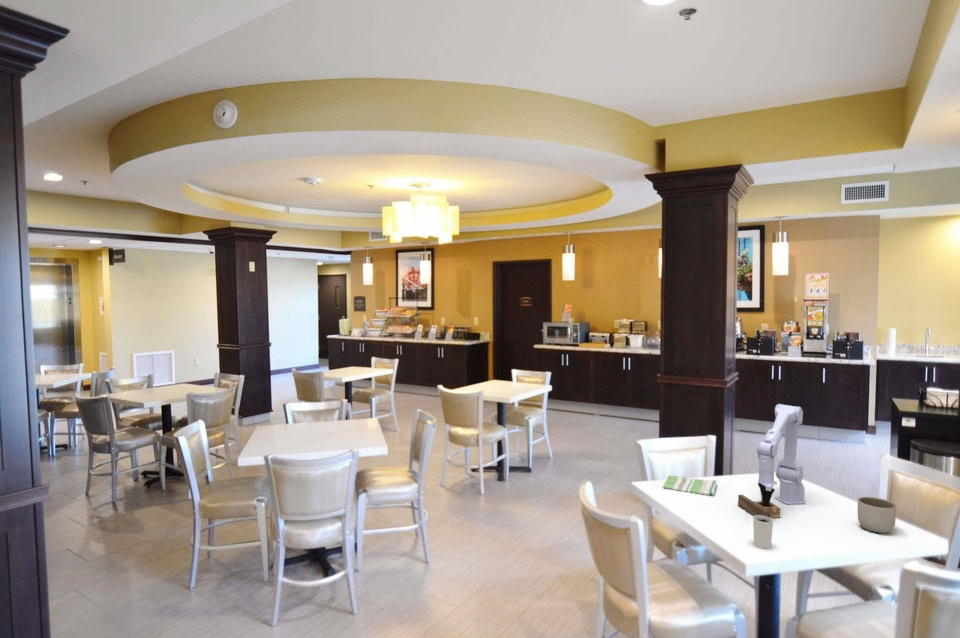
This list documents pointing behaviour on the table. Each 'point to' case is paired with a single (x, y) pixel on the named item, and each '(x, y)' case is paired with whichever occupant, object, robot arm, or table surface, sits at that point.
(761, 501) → the dowel
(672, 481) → the dish towel
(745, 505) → the wooden plank
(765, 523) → the white cup
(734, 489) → the table surface
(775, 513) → the block
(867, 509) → the planter
